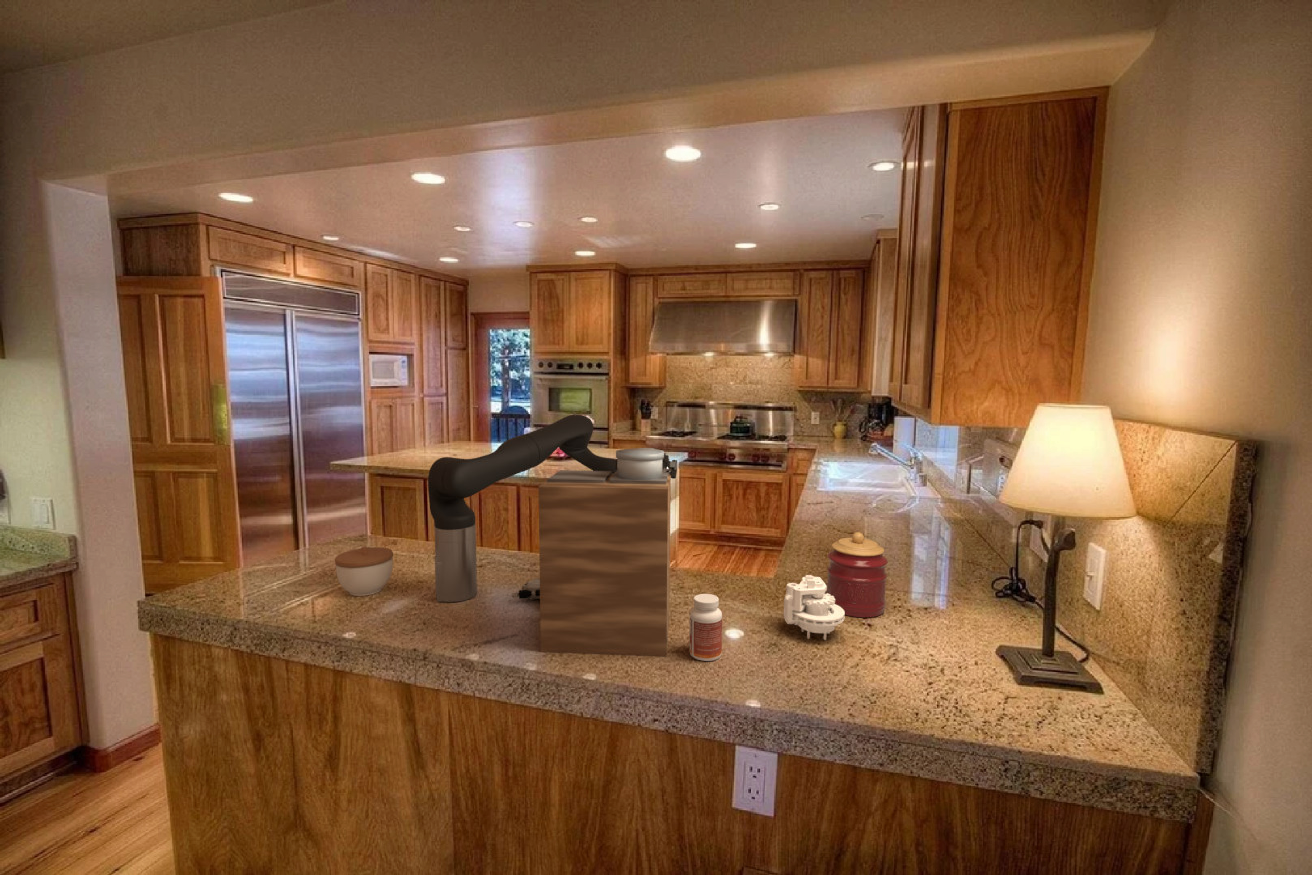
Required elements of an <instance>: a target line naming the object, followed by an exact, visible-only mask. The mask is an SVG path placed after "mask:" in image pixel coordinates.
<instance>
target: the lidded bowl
mask: <svg viewBox="0 0 1312 875" xmlns="http://www.w3.org/2000/svg"><path fill="white" fill-rule="evenodd" d="M393 559H394V552H393V550H392V549H391V548H388V547H379V546H378V547H377V546H375V547H374V546H373V547H372V546H371V547H368V546H367V545H364V546H363V545H362V546H361V548H356V549H355V548H354V549H351V550H348V551H344V552H342V553H339V554H338V555H336V556H335V558H334V563H335V571H336V572H335V573H336V576H337V580H338V583H339V585H340V586H341V587H342V589H343V590H345V591H346V592H348V593H349V595H350V596H353V597H366V596H371V595H375V594H377V593H380V592H381V591H382V590H383V588H384V587H385V586H386V585H387V583H388V582H389V580H390V579H391V576H392V571H393V565H394V564H393V563H394V560H393Z"/></svg>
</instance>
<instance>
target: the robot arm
mask: <svg viewBox="0 0 1312 875" xmlns="http://www.w3.org/2000/svg"><path fill="white" fill-rule="evenodd" d="M593 432H594V423H593V421H592V420H591V419H590V418H589V417H587V416H586V415H582V414H569V415H567V416H564V417H562V418H560V419H558V420H557V421H555V422H552V423H550V424H549V425H546V426H544V427H541V428H538V429H536V430H533V431H530V432H527V433H525V434H524V433H523V434H521V435H518V436H515V437H512V438H509V439H507V440H505V441H504V442H502V443H501V444H500V445H499V446H498V447H497V448H496V449H495V450H494V451H493V452H491V453H489V454H485V455H482V456H478V457H473V458H458V457H451V456H449V457H448V456H443V457H439V458H438V459H436V460H435V461H434V462H433V463H432V465H431V466H430V468H429V472H428V475H427V488H428V489H427V490H428V492H427V493H428V501H429V502H428V503H429V511H430V515H431V517H432V520H433V523H434V524H433V526H434V527H433V529H434V553H435V555H434V572H435V573H434V574H435V575H434V578H435V579H434V580H435V596H436V602H437V603H439V602H440V603H441V602H446V603H454V602H455V603H457V602H463V601H466V600H469V599H472V598H474V597H475V596H477V594H478V576H477V575H478V573H477V571H478V570H477V569H478V568H477V530H476V513H475V511H474V510H472V509H471V507H470V506H468V504H467V503H466V501H465V499H467V498H470V497H471V496H474V495H477V494H478V493H479V492H481V491H483V490H485V489H486V488H489V487H490V486H492V485H494V484H496V483H498V482H499V481H501V480H505V479H508V478H510V477H512V476H513V477H514V476H515V475H518V474H521V473H523V472H525V471H529V470H531V469H533V468H536V467H538V466H539V465H541V464H542V463H543V462H545V461H546V460H547V459H548V458H549V457H551V455H552V454H553V453H555V452H556V450H558V448H559V450H561V452H563V453H564V454H565V455H566V456H568V457H570V458H572V459H573V460H574V461H576V462H578V463H580V464H581V465H582V466H585V467H586V468H588V469H590V471H612V474H614V473H615V472H616V471H617V458H614V457H613V458H612V457H603V456H599V455H597V454H595V453H594V452H592V450H590V449H589V448H588V446H589V444H590V440H591V437H592V436H593ZM662 472H668V475H671V480H673V479H677V473H678V460H677V459H672V460H670V458H669V455H668V454H667V453H665V452H664V458H663V459H662Z"/></svg>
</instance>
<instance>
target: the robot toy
mask: <svg viewBox="0 0 1312 875" xmlns="http://www.w3.org/2000/svg"><path fill="white" fill-rule="evenodd" d="M511 597H512V598H515V599H516V598H518V599H519V600H522V599H523V600H524V599H528V598H529V599H530V600H534V601H535V600H538V599H539V600H540V577H539V578H535V579H532V580H530V581H526V583H525V584H524V583H523V584H522V587H521V589H519V590H518V591H516V592H513V593H512V594H511Z"/></svg>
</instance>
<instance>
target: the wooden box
mask: <svg viewBox="0 0 1312 875" xmlns="http://www.w3.org/2000/svg"><path fill="white" fill-rule="evenodd" d="M671 480H672V478H671V475H668V472H662V477H661V478H658V479H652V480H629V479H622V478H619V477H618V476H617V471H616V472H615V473H614V474H612V471H593V470H570V469H569V470H568V469H566V470H564V469H563V470H561V469H560V470H558V471H557V472H555V474H553V475H551V476H550V477H549V478H547V479H546V480H545V481H544V482H543V483H541V484H540V485H538V540H539V541H538V546H539V550H538V552H539V553H538V554H539V578H540V599H539V619H540V620H539V621H540V626H539V627H540V628H539V629H540V630H539V632H540V652H541V653H560V654H561V653H567V654H594V655H596V654H597V655H621V656H623V655H624V656H647V657H648V656H650V657H667V650H668V638H669V627H670V599H671V598H670V587H671V585H670V582H671V580H670V578H671V577H670V576H671V574H670V573H671V572H670V571H671V570H670V569H671V568H670V567H671V502H672V501H671V500H672V497H671V495H672V493H671V491H672V490H671V487H672V486H671V485H672V483H671Z"/></svg>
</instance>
